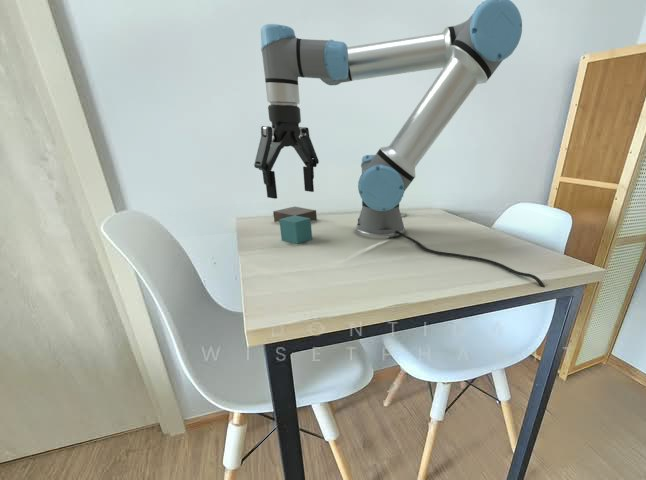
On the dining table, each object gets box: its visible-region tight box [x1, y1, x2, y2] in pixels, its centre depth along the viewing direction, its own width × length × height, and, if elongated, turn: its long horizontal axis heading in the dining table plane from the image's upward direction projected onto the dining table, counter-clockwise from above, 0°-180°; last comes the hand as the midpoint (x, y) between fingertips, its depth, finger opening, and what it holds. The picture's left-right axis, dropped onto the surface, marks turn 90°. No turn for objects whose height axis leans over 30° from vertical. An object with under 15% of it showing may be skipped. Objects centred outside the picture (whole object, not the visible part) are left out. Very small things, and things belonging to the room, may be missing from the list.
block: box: [278, 215, 313, 245], centre depth 100 cm, size 6×6×6 cm
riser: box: [272, 206, 318, 223], centre depth 122 cm, size 10×10×4 cm
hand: (291, 194), depth 96 cm, fingers open, 13 cm apart
